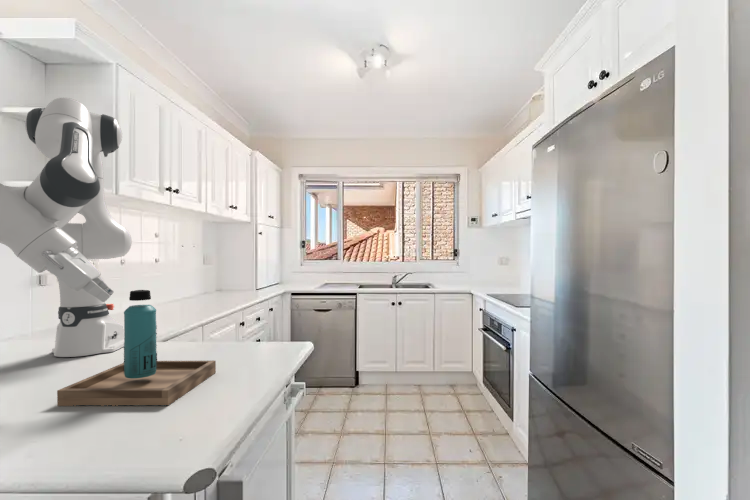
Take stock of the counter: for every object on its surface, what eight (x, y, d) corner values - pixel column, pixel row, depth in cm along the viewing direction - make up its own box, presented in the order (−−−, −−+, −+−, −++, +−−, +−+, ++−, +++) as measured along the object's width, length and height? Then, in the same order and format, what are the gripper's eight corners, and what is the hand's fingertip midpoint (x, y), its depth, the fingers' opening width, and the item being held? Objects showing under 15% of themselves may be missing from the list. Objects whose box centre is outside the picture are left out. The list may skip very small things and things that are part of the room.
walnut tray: (128, 373, 103) (128, 360, 103) (215, 372, 102) (215, 360, 102) (57, 405, 81) (57, 390, 81) (168, 405, 80) (167, 390, 80)
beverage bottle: (143, 386, 88) (143, 291, 88) (115, 384, 89) (115, 291, 89) (163, 377, 94) (164, 288, 94) (137, 375, 95) (137, 288, 95)
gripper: (55, 239, 76) (118, 289, 81) (73, 241, 94) (123, 283, 99) (24, 264, 74) (91, 314, 78) (48, 262, 92) (101, 303, 96)
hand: (109, 297), depth 89 cm, fingers open, 8 cm apart
